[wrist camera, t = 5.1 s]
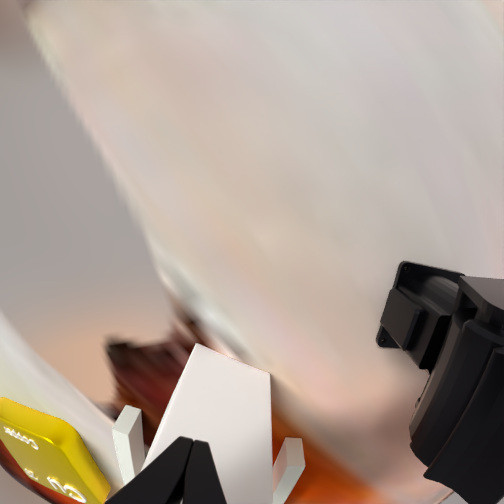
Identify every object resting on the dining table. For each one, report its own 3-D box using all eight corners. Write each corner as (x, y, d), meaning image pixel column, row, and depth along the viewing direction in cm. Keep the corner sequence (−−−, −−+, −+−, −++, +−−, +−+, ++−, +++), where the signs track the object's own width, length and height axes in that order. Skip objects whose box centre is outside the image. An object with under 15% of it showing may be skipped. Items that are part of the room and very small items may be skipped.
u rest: (301, 438, 22) (305, 466, 19) (254, 529, 27) (253, 547, 24) (125, 404, 22) (111, 429, 19) (142, 508, 27) (136, 525, 24)
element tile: (74, 420, 24) (55, 446, 19) (116, 490, 27) (105, 514, 22) (-2, 392, 25) (-21, 409, 20) (40, 462, 28) (27, 480, 23)
